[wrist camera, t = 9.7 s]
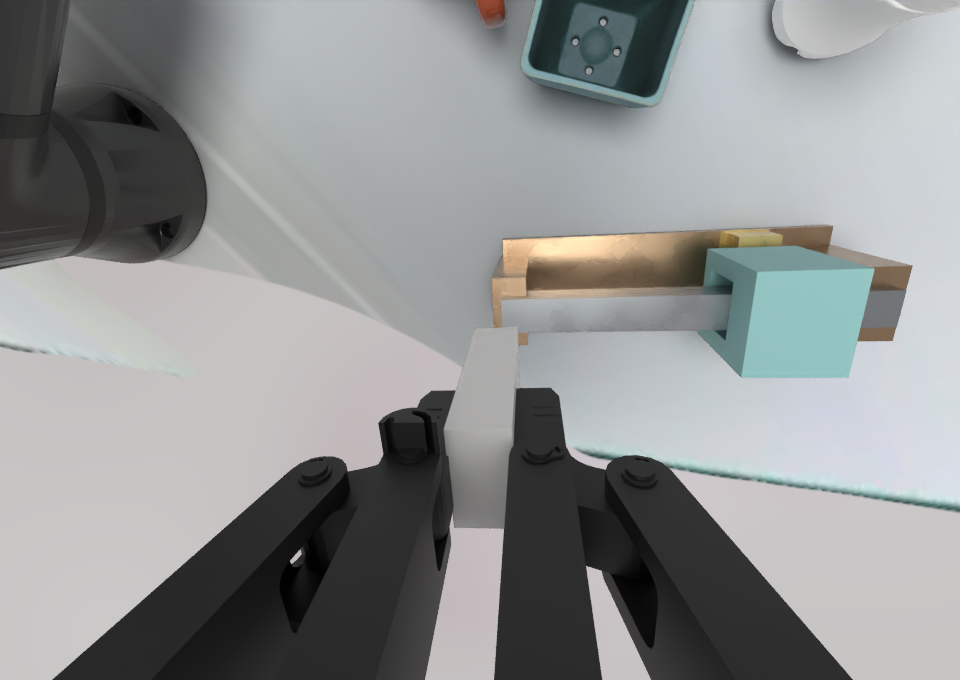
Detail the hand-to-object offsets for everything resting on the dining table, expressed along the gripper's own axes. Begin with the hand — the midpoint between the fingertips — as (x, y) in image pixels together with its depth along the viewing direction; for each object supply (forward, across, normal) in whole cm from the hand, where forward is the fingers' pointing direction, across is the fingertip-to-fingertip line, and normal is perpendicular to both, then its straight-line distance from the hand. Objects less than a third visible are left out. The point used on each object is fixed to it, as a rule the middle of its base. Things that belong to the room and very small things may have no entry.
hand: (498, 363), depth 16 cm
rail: (+25, +12, -4) cm, 28 cm away
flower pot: (+26, +7, +14) cm, 30 cm away
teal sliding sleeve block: (+17, +17, -3) cm, 24 cm away
